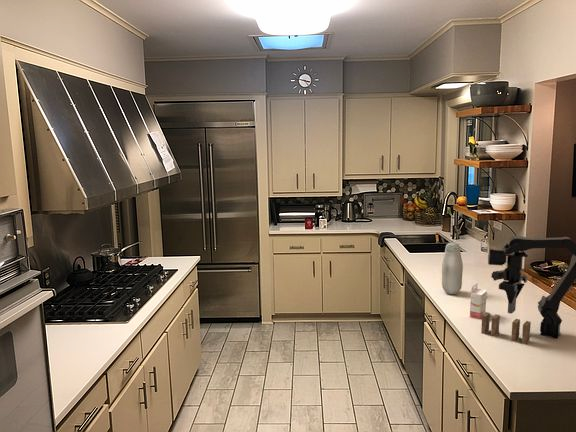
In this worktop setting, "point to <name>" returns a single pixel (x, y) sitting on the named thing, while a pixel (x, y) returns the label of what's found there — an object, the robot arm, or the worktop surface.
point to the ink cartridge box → (477, 302)
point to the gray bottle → (452, 269)
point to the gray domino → (512, 306)
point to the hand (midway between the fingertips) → (512, 301)
